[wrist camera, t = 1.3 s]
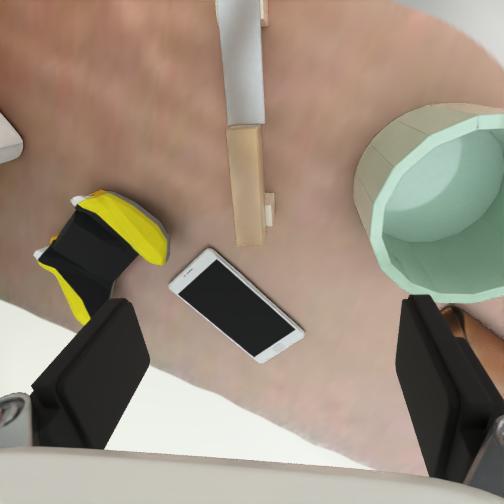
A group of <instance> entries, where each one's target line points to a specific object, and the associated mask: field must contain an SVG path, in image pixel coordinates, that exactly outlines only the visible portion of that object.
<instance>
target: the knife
mask: <svg viewBox="0 0 504 504" xmlns="http://www.w3.org/2000/svg"><path fill="white" fill-rule="evenodd" d="M217 10H218V21H219V32H220V43H221V54H222V64H223V75H224V86H225V97H226V108H227V119H228V125H229V126H230V125H232V126H231V127H229V128H228V129H226V140H227V151H228V161H229V172H230V182H231V192H232V203H233V213H234V224H235V234H236V245H237V246H263V244H264V240H265V236H266V232H267V231H266V210H265V190H264V170H263V150H262V129H261V124H264V123H265V108H264V85H263V63H262V40H261V18H260V0H217Z"/></svg>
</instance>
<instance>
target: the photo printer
mask: <svg viewBox="0 0 504 504" xmlns="http://www.w3.org/2000/svg"><path fill="white" fill-rule="evenodd" d="M22 150H23V140H22V138H21V137H20V136H19V134H18V133H17V132H16V130H15V129H14V128H13V127H12V126H11V124H10V123H9V122H8V121H7V120H6V119H5V117H4V116H3V115H2V114H1V113H0V163H4V162H7V161H10V160H14V159H16V158H18V157H19V156H20V155H21V153H22Z"/></svg>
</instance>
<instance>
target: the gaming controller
mask: <svg viewBox="0 0 504 504" xmlns="http://www.w3.org/2000/svg"><path fill="white" fill-rule="evenodd" d="M71 202H72V204H73V205H74V207H75V209H76V211H75V212H74V214H73V215H72V217H71V218H70V219H69V221H68V222H67V224H66V225H65V227H64V228H63V229H62V231H61V232H60V233H59V234H57V235H56V236H54V237H53V238H51V241H50V245H49V246H47V247H44V248H41V249H39V250H36V252H35V253H34V254H33V255H34V257H35V258H36V259H37V261H38V263H39V265H40V266H42V267H43V268H44V269H46V270H48V271H50V272H52V273H53V274H55V275H56V277H57V279H58V281H59V284H60V286H61V288H62V290H63V292H64V294H65V297H66V299H67V301H68V303H69V305H70V308H71V310H72V312H73V314H74V316H75V318H76V319H77V320H78V321H79V322H80V323H81V324H82V325H83V326H85V325H86V323H87V322H88V321H89V320H90V319H91V318H92V317H93V316H94V314H95V313H96V312H97V311H98V310H99V309H100V308H101V307H102V305H103V304H104V303H105V302H106V301H107V300H108V299H111V298H113V290H114V285H115V282H116V279H117V278H118V277H119V275H120V274H121V273H122V272H123V271H124V270H125V269H126V268H127V267H128V266H129V264H130V263H131V262H132V261H133V260H134V259H135V258H136V257H137V256H138V255H139V254H140V255H141V256H142V257H143V258H144V259H145V260H146V261H147V262H150V263H153V264H156V265H159V266H161V265H163V264H165V263H166V262H167V261H168V259H169V255H170V237H169V236H168V234H167V232H166V230H165V229H164V227H163V225H162V223H161V222H160V221H159V220H157V219H156V218H155V217H153V216H152V215H151V214H150V213H148V212H147V211H146V210H145V209H143V208H142V207H141V206H140V205H138V204H137V203H136V202H134V201H132V200H130V199H128V198H126V197H124V196H122V195H120V194H118V193H116V192H112V191H104V190H99V191H96V192H94V193H92V194H89V195H88V196H77V197H74V198H72V199H71Z"/></svg>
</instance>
